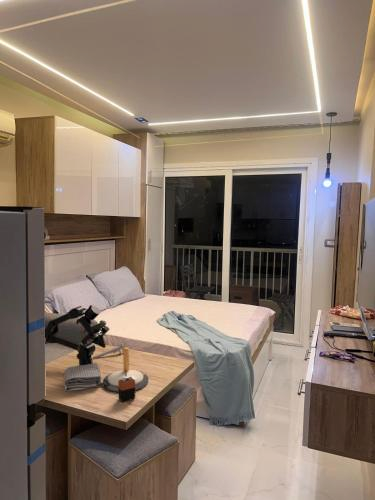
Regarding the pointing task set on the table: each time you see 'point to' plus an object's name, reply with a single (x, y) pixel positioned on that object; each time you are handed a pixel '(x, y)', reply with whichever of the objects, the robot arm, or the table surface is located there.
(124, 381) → the battery
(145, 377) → the dial plate
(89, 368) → the towel
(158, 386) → the table surface
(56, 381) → the table surface
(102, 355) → the caliper
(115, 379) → the dial
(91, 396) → the table surface
